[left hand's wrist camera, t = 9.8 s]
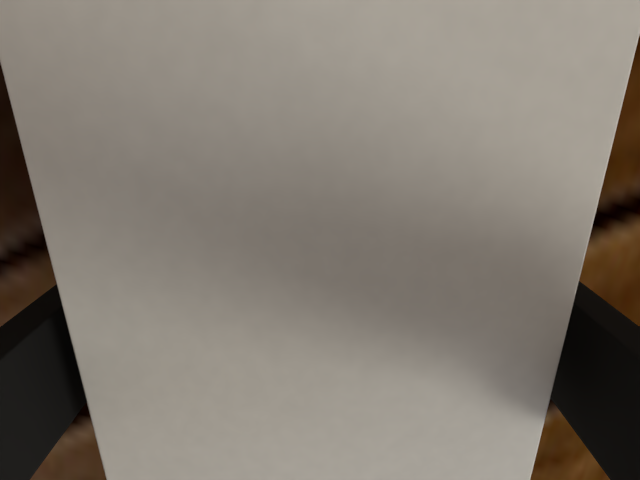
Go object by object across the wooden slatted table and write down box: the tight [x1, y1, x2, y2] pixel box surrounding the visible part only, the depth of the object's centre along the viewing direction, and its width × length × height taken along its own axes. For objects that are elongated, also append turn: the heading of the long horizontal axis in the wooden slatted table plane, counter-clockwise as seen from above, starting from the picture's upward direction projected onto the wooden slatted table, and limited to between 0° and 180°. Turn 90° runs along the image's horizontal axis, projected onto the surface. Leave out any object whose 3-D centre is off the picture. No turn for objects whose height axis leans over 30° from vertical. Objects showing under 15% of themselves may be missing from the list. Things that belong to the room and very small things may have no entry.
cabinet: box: [0, 0, 640, 480], centre depth 11 cm, size 17×10×9 cm, turn 0°
